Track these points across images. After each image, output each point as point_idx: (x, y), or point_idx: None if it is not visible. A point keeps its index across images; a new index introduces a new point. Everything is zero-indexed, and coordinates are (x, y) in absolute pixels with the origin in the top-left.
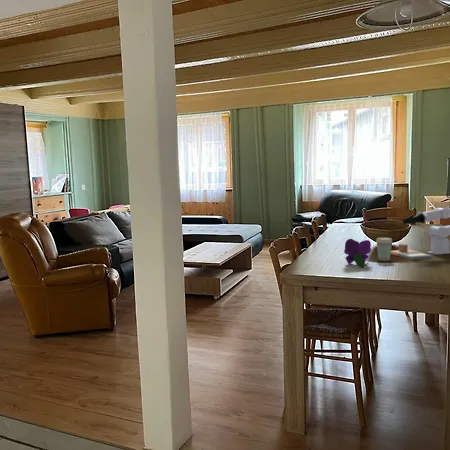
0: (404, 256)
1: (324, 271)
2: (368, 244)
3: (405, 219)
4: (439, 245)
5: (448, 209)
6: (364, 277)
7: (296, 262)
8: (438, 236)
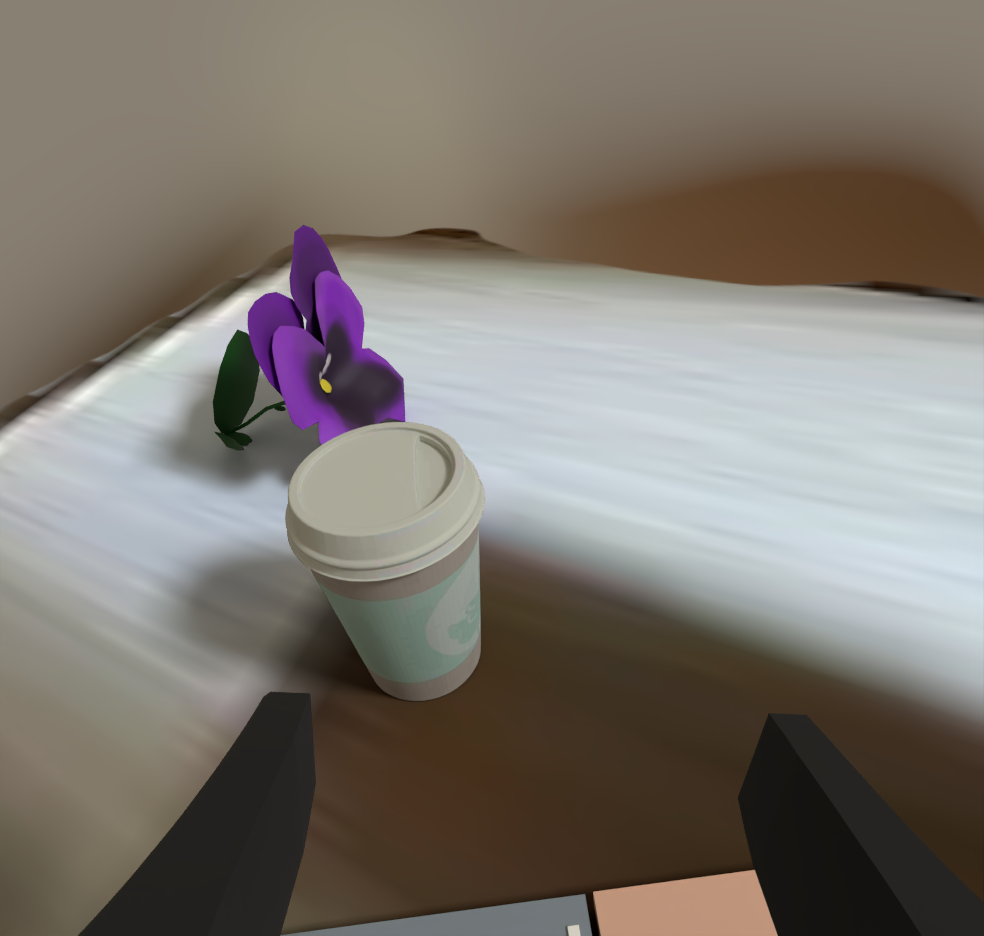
0: (424, 922)
1: None
2: (265, 351)
3: (812, 797)
4: None
5: None
6: (65, 406)
7: (550, 262)
8: None
